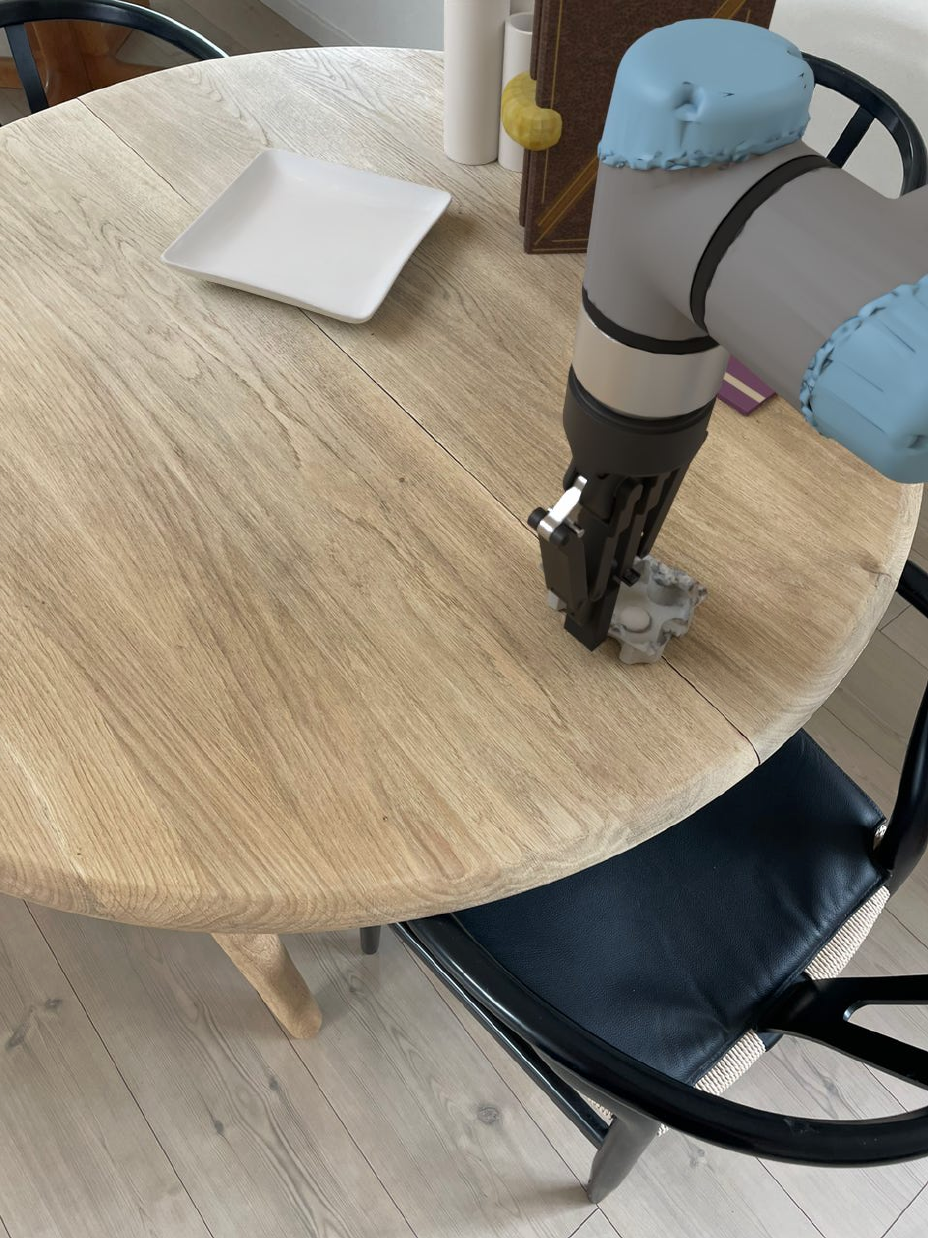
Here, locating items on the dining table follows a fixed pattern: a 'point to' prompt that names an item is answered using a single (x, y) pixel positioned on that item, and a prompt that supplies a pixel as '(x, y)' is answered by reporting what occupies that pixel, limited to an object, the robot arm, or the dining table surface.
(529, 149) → the book
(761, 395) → the tea towel
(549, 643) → the dining table surface
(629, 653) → the egg carton
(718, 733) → the dining table surface
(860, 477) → the dining table surface
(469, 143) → the vase
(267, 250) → the plate
